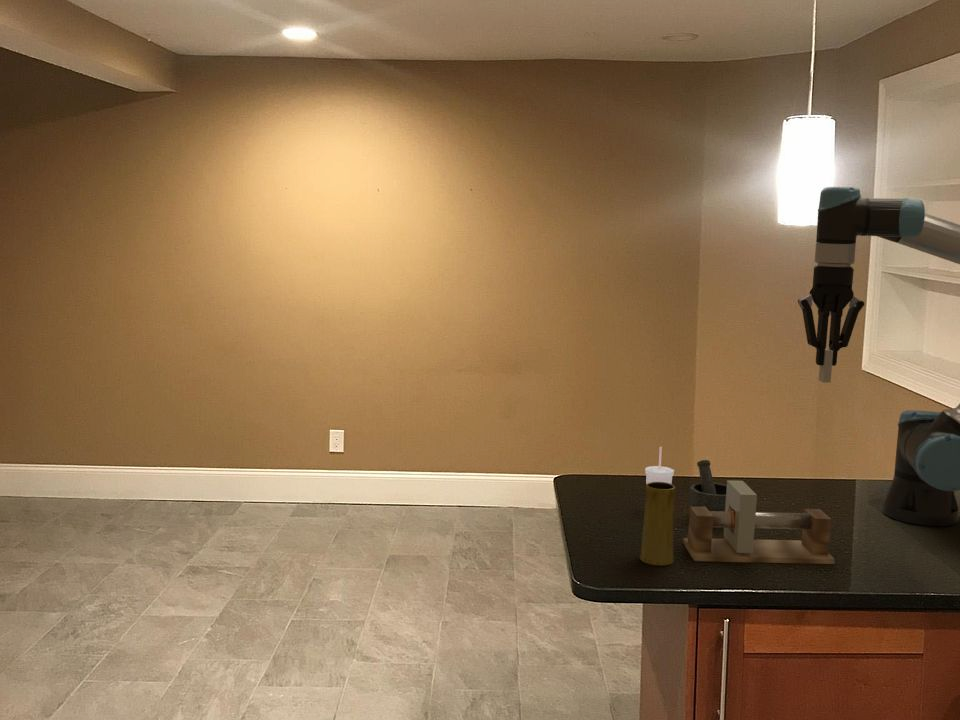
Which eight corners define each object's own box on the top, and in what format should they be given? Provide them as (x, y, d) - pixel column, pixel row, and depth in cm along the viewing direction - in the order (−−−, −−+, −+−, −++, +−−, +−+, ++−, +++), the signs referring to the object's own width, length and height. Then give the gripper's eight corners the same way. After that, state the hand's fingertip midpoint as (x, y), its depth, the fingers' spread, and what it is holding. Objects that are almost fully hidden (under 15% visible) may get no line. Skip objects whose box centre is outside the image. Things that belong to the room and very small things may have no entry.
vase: (666, 568, 177) (670, 492, 175) (634, 561, 180) (638, 486, 178) (678, 559, 182) (682, 484, 180) (647, 552, 185) (651, 479, 183)
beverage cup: (677, 511, 211) (681, 448, 209) (657, 516, 208) (660, 451, 206) (657, 504, 216) (660, 442, 214) (637, 508, 213) (640, 445, 211)
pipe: (815, 527, 188) (817, 509, 187) (822, 533, 184) (823, 515, 184) (695, 524, 187) (696, 507, 187) (699, 530, 184) (701, 512, 183)
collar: (738, 535, 191) (742, 480, 189) (752, 553, 181) (757, 495, 180) (723, 535, 191) (727, 480, 189) (736, 552, 181) (740, 494, 180)
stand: (815, 545, 192) (818, 506, 190) (834, 564, 182) (837, 522, 180) (682, 542, 191) (685, 503, 190) (694, 561, 181) (696, 519, 180)
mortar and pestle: (743, 527, 202) (747, 470, 200) (702, 529, 200) (706, 472, 198) (717, 510, 213) (720, 456, 211) (677, 512, 210) (680, 458, 209)
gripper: (859, 264, 200) (849, 378, 204) (795, 263, 200) (786, 377, 203) (874, 267, 193) (863, 385, 196) (807, 265, 192) (798, 383, 196)
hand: (824, 381), depth 200 cm, fingers closed
